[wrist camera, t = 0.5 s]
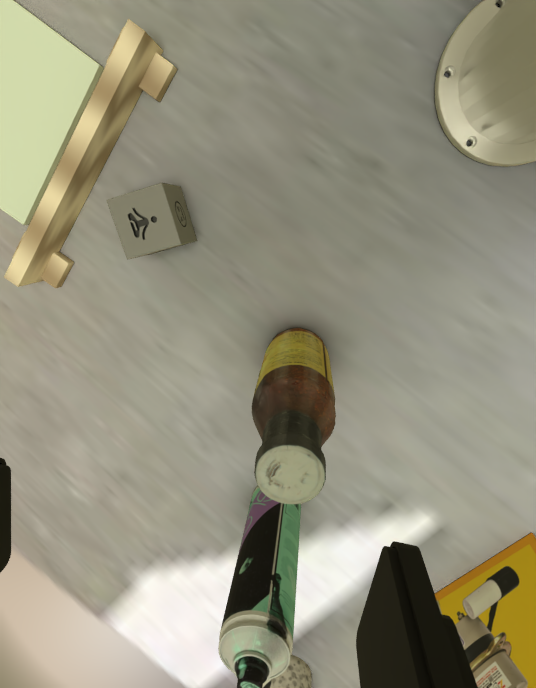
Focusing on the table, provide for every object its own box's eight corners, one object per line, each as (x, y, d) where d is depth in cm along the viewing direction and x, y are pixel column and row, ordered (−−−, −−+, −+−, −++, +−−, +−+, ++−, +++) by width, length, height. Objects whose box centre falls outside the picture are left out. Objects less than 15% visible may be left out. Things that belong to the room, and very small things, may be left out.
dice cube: (131, 201, 40) (106, 200, 35) (180, 186, 39) (161, 182, 34) (149, 254, 41) (127, 259, 37) (197, 240, 40) (181, 244, 36)
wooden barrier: (131, 26, 36) (108, 3, 32) (180, 63, 36) (164, 46, 32) (16, 261, 43) (-13, 265, 39) (59, 290, 43) (34, 297, 40)
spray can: (259, 472, 47) (219, 648, 28) (307, 487, 47) (299, 673, 28) (246, 512, 49) (201, 703, 30) (293, 526, 49) (277, 727, 29)
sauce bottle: (254, 347, 43) (204, 452, 24) (306, 313, 41) (296, 396, 22) (291, 398, 44) (271, 536, 25) (343, 366, 42) (363, 489, 24)
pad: (-6, -14, 36) (-13, -20, 35) (104, 68, 37) (99, 64, 36) (-70, 155, 41) (-78, 154, 40) (28, 224, 42) (23, 224, 41)
